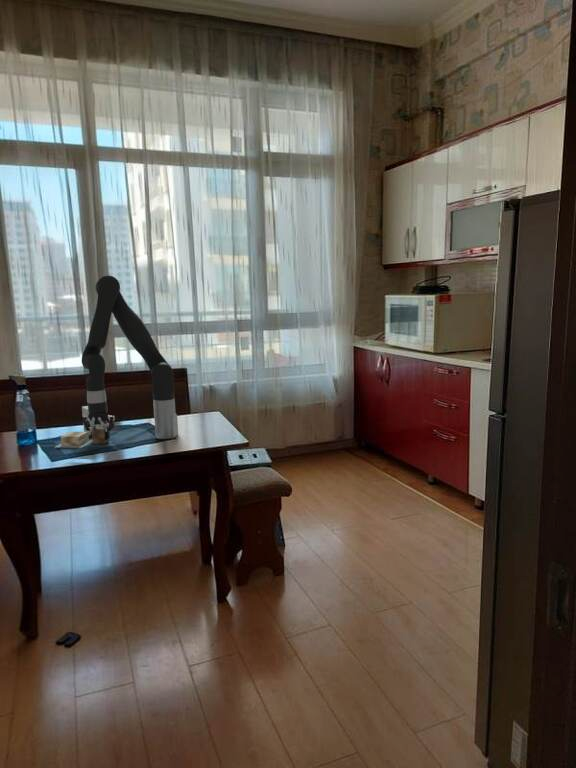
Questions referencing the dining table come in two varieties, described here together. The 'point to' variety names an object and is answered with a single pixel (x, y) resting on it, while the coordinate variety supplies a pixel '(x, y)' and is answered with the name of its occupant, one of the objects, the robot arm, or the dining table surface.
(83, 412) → the small box
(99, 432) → the walnut block
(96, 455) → the dining table surface
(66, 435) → the beech block
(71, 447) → the board
